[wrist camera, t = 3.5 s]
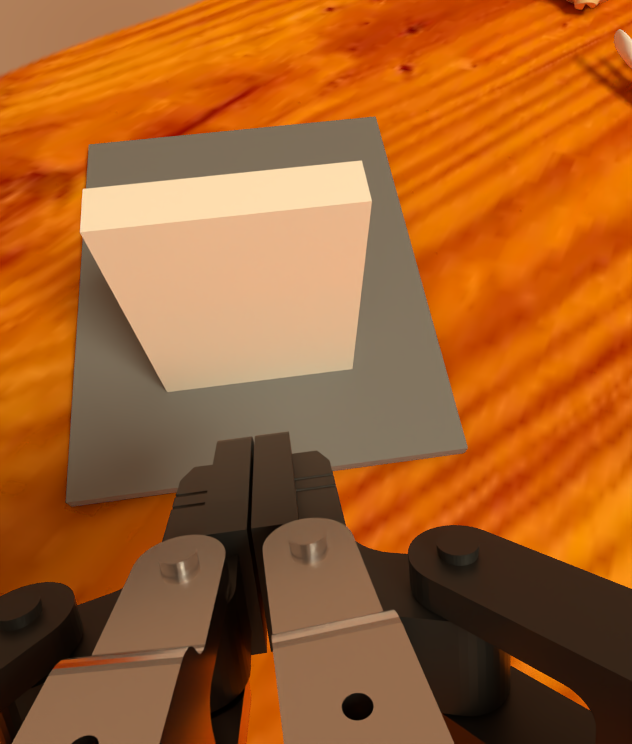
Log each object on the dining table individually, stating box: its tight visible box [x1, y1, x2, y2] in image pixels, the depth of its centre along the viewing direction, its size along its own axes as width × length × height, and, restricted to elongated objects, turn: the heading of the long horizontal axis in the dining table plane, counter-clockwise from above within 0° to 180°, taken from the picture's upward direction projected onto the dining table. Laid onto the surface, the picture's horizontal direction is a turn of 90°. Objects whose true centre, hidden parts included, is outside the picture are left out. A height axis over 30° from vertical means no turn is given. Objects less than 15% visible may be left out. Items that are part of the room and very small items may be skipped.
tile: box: [80, 160, 372, 392], centre depth 20 cm, size 8×2×10 cm, turn 98°
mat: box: [66, 117, 468, 507], centre depth 27 cm, size 20×16×1 cm
